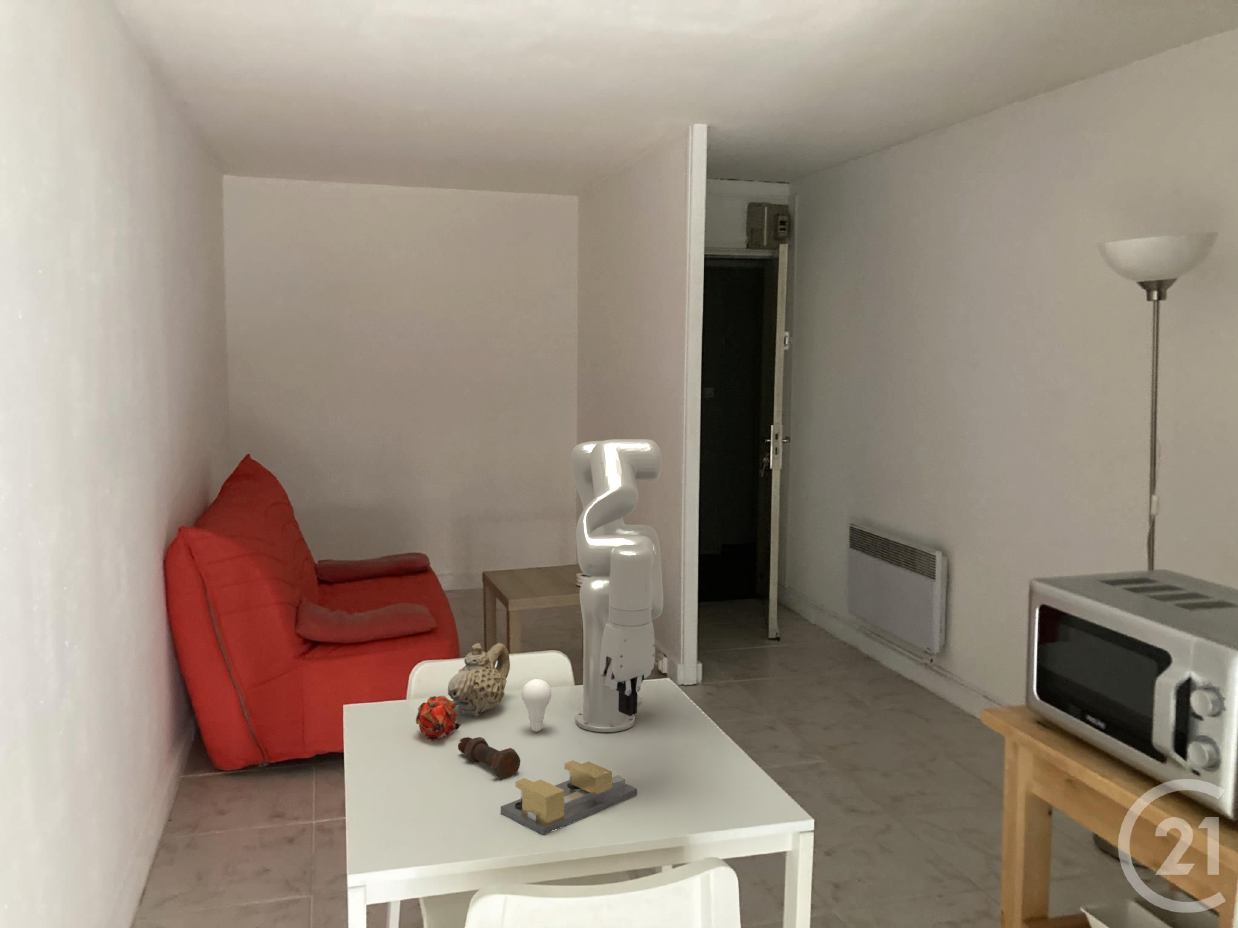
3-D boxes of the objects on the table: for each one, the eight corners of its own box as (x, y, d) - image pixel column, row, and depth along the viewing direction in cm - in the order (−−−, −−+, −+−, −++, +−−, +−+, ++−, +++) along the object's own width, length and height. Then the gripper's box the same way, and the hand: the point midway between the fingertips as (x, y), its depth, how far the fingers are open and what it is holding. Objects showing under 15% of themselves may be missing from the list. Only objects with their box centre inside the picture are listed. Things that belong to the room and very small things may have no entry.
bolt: (467, 762, 199) (512, 783, 188) (448, 754, 196) (492, 776, 185) (479, 733, 200) (524, 753, 189) (460, 725, 197) (505, 745, 186)
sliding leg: (576, 778, 183) (576, 756, 182) (612, 793, 176) (612, 771, 176) (560, 784, 180) (560, 762, 179) (595, 800, 174) (595, 777, 173)
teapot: (474, 731, 210) (473, 660, 208) (427, 721, 215) (427, 652, 213) (526, 700, 229) (527, 634, 228) (483, 692, 234) (483, 628, 232)
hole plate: (594, 776, 188) (594, 745, 187) (637, 794, 180) (637, 762, 180) (500, 813, 172) (500, 779, 172) (543, 835, 165) (543, 800, 164)
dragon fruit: (440, 730, 214) (441, 760, 203) (407, 710, 212) (406, 740, 200) (465, 699, 213) (467, 728, 202) (431, 679, 211) (432, 707, 199)
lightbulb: (556, 729, 212) (556, 677, 210) (542, 738, 206) (542, 686, 205) (530, 724, 214) (531, 673, 213) (516, 733, 209) (516, 681, 207)
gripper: (643, 601, 188) (641, 696, 191) (584, 618, 178) (583, 717, 181) (673, 611, 183) (670, 707, 186) (614, 628, 173) (612, 730, 176)
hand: (627, 712), depth 183 cm, fingers closed
